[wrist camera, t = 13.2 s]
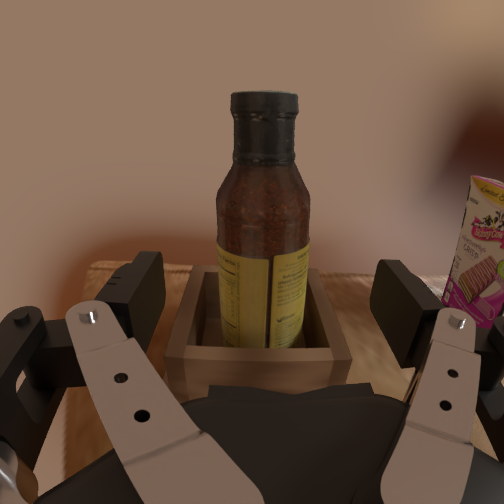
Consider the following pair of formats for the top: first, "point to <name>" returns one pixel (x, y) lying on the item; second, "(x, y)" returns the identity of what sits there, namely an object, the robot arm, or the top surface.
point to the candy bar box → (479, 255)
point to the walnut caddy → (251, 359)
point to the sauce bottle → (263, 226)
